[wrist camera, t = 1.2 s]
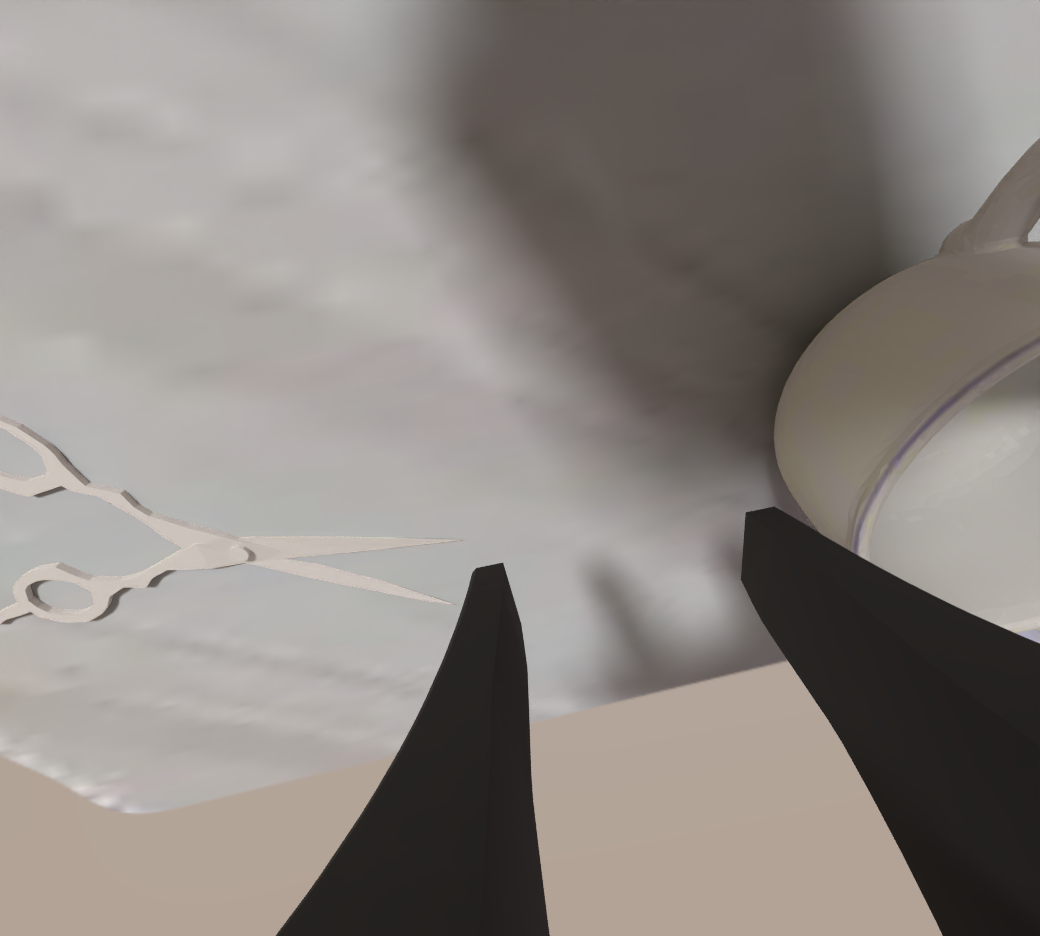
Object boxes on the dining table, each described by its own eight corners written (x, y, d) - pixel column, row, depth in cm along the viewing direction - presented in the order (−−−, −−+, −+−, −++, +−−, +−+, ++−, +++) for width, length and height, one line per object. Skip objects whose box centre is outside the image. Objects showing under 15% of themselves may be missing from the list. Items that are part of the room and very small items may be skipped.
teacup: (938, 491, 21) (1155, 638, 15) (705, 503, 21) (817, 664, 14) (1155, 102, 14) (1792, 34, 7) (804, 99, 13) (1148, 21, 7)
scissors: (-136, 401, 15) (480, 481, 19) (-111, 391, 16) (481, 470, 19) (-16, 624, 21) (447, 655, 24) (-1, 611, 21) (448, 642, 25)
